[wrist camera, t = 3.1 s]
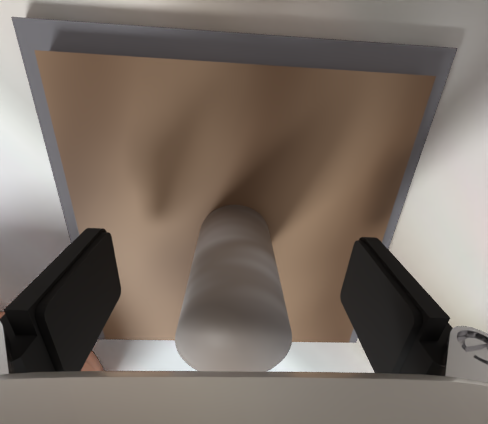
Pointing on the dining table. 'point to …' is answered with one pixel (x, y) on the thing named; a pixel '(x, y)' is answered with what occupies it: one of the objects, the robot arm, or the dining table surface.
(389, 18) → the dining table surface
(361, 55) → the charcoal tray
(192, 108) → the walnut lid
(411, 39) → the dining table surface
